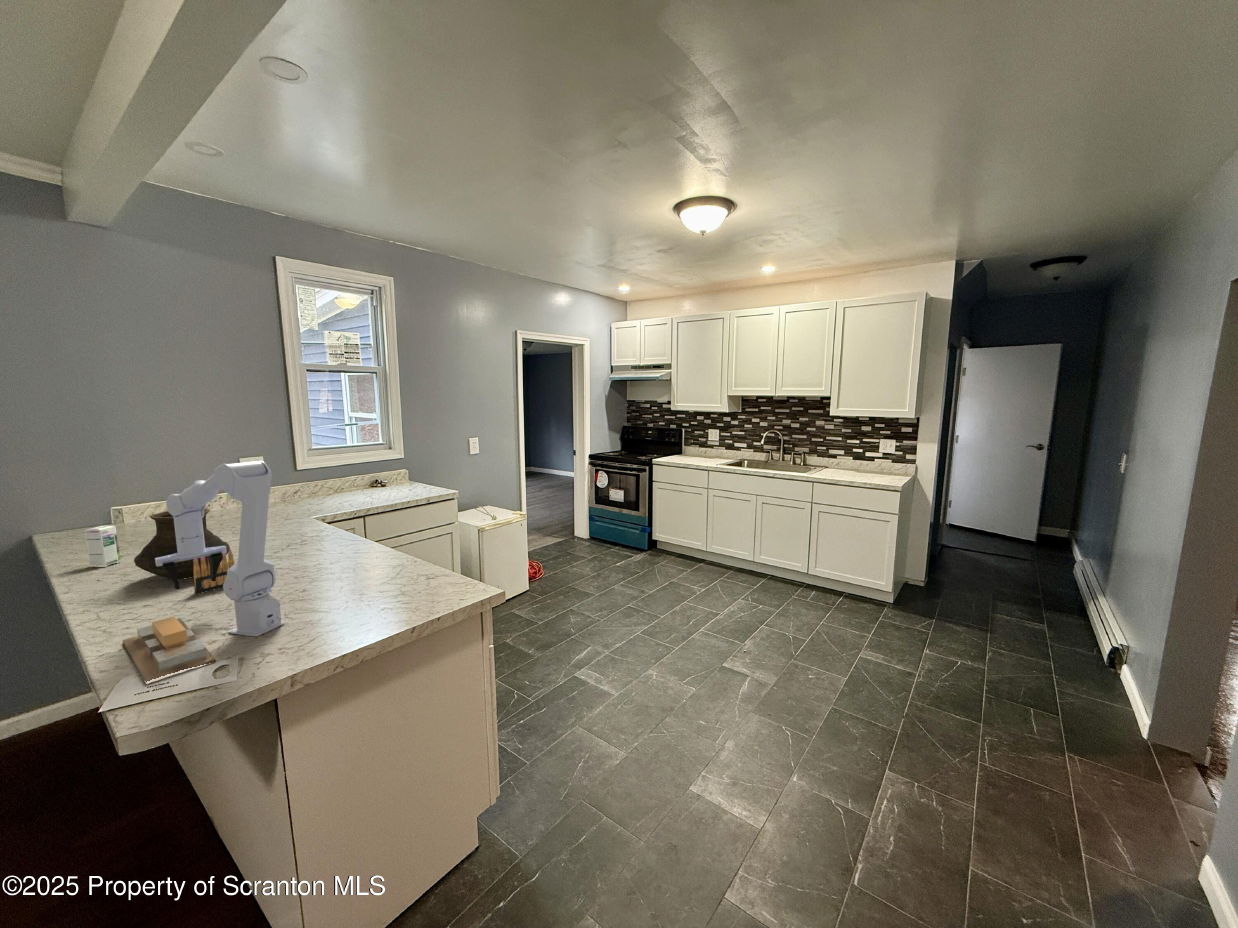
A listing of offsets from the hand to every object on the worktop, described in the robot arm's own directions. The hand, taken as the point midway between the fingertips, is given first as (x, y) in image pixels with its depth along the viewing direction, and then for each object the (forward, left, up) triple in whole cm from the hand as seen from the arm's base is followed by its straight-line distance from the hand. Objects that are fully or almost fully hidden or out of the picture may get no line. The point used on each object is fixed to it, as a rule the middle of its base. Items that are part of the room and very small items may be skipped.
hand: (195, 584), depth 133 cm
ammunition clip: (+18, -18, -10) cm, 27 cm away
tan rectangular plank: (-14, +16, -9) cm, 23 cm away
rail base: (-14, +16, -9) cm, 23 cm away
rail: (-14, +16, -9) cm, 23 cm away
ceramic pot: (+41, -25, -10) cm, 49 cm away
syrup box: (+84, -27, -10) cm, 89 cm away
